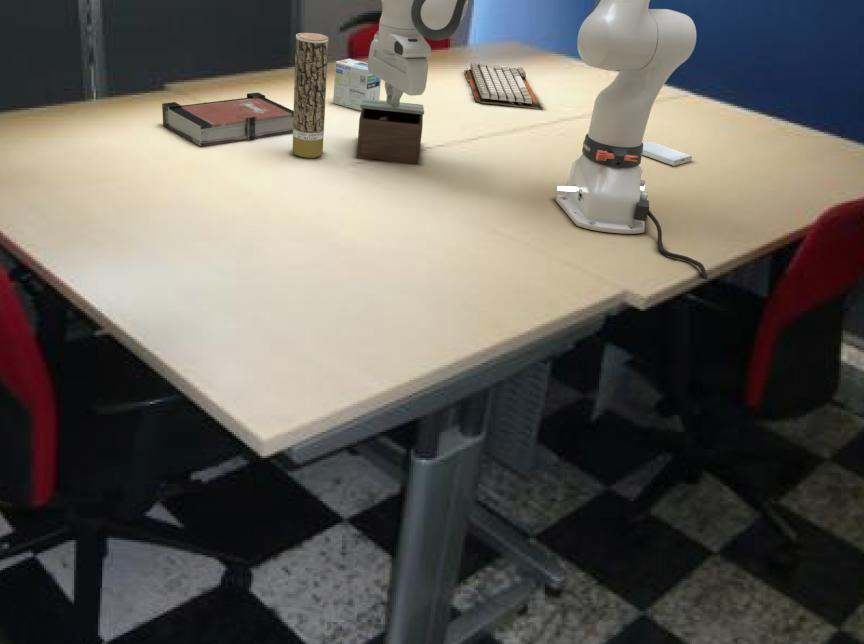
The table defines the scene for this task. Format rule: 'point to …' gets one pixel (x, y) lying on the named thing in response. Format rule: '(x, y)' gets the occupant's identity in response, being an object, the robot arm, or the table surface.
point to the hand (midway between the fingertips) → (392, 104)
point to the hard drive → (665, 154)
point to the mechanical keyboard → (501, 86)
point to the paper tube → (309, 94)
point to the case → (389, 136)
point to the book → (228, 120)
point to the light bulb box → (354, 84)
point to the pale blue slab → (387, 107)
